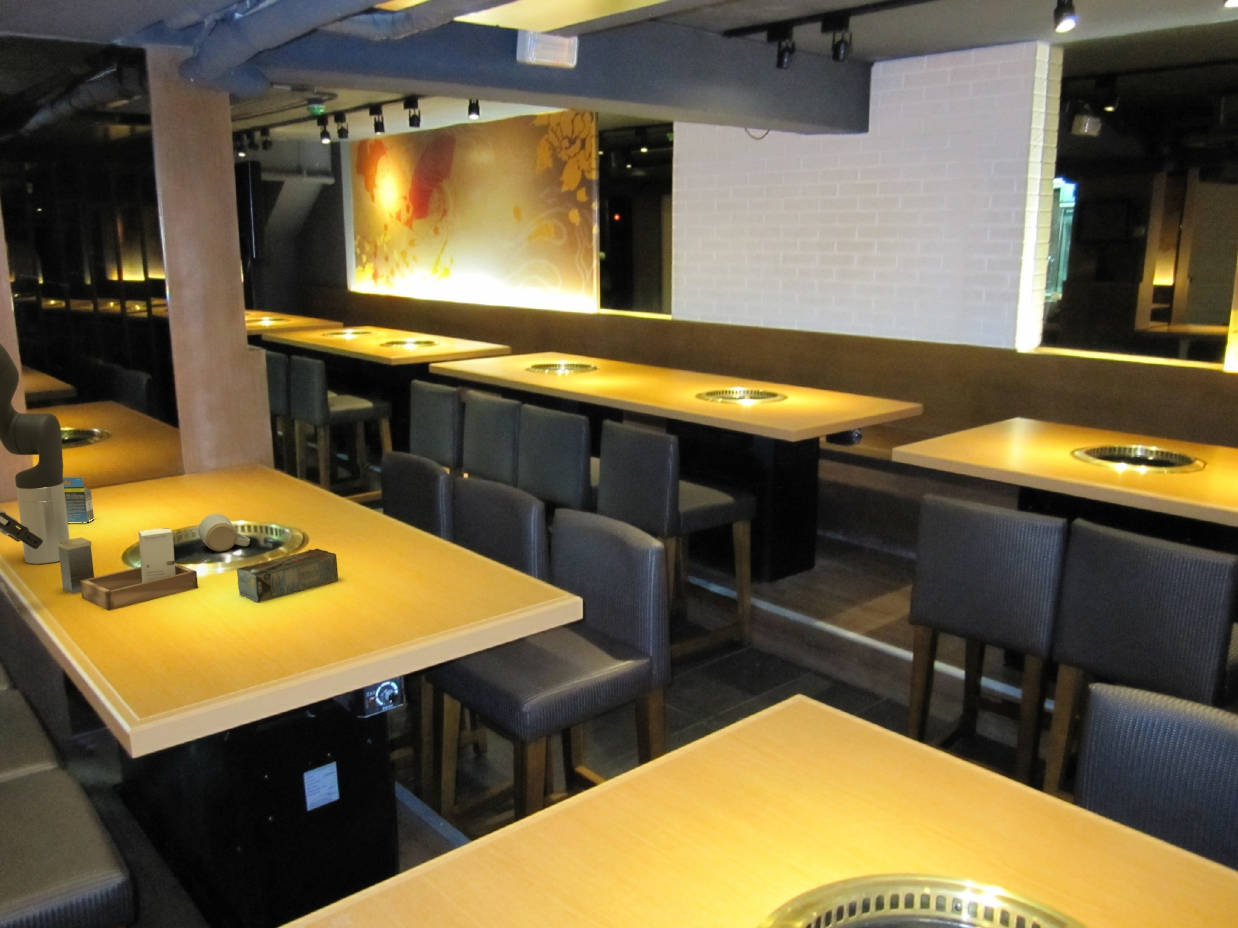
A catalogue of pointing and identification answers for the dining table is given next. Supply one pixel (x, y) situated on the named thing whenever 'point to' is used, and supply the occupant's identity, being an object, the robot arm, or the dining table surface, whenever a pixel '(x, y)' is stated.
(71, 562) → the tea tin
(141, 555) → the skincare box
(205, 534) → the ceramic mug
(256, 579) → the beverage carton
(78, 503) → the label tape cartridge
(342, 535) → the dining table surface
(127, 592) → the crate
